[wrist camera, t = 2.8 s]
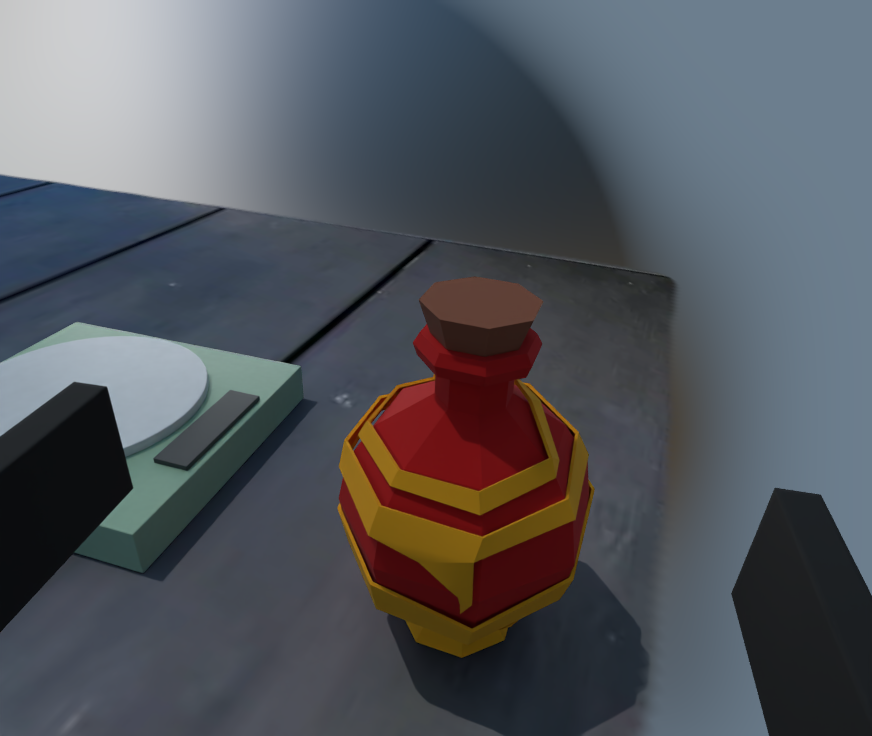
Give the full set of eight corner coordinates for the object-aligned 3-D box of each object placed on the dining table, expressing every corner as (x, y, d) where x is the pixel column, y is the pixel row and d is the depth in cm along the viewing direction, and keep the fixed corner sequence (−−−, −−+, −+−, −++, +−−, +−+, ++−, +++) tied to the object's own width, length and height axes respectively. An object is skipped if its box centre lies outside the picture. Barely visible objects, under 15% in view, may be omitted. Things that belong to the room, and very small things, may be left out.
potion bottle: (614, 600, 29) (694, 302, 21) (472, 775, 22) (515, 429, 15) (443, 492, 35) (459, 229, 27) (290, 604, 28) (254, 295, 20)
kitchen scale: (304, 397, 42) (300, 358, 41) (143, 574, 29) (129, 524, 28) (84, 351, 47) (74, 314, 45) (-143, 487, 33) (-169, 440, 32)
